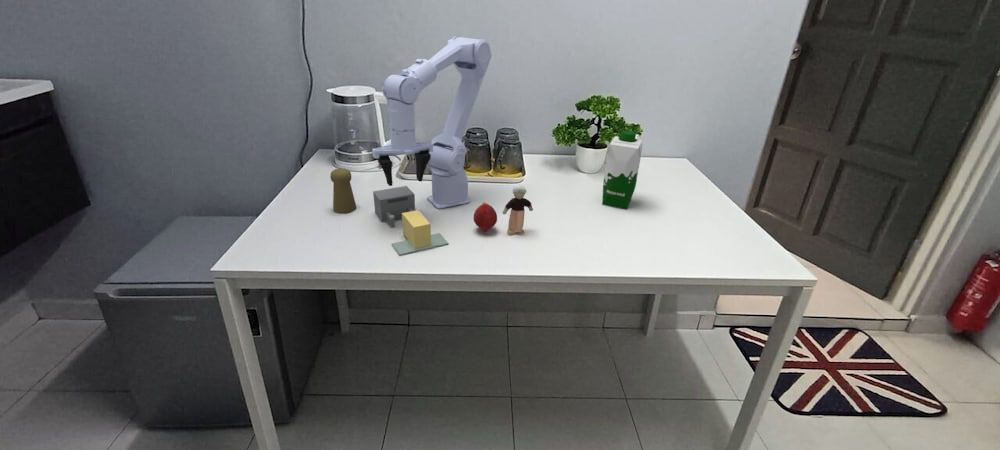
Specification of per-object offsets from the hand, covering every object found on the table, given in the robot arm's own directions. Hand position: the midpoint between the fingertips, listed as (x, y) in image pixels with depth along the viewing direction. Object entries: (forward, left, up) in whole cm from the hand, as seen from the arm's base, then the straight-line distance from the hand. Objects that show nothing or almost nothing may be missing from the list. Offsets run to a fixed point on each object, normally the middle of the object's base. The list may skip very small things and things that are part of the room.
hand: (404, 182), depth 121 cm
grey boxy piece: (+2, -3, -10) cm, 11 cm away
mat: (+2, +14, -10) cm, 17 cm away
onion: (-15, +14, -11) cm, 23 cm away
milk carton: (-57, +15, -11) cm, 60 cm away
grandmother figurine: (-22, +18, -11) cm, 30 cm away
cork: (+13, -13, -11) cm, 21 cm away
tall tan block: (+2, +11, -10) cm, 15 cm away
